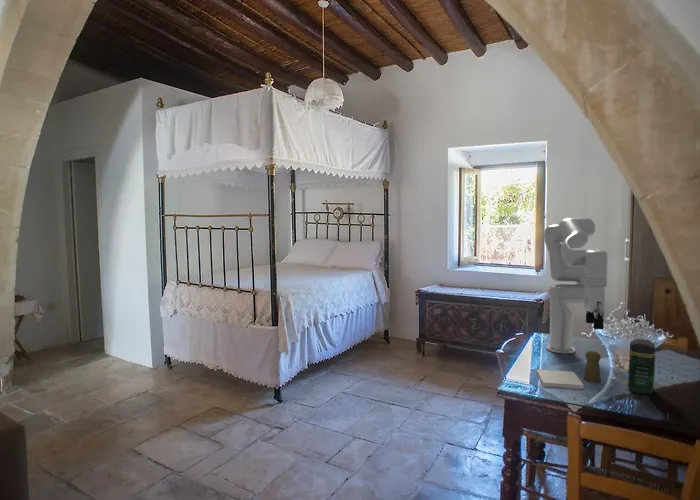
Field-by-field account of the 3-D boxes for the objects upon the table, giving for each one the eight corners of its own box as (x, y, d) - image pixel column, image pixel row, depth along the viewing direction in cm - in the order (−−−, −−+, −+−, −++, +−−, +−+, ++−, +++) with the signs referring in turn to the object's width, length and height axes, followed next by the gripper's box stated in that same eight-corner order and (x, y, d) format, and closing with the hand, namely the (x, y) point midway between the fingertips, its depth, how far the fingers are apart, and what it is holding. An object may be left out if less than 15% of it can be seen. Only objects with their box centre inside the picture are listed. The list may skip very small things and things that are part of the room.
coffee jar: (653, 397, 156) (656, 345, 155) (627, 392, 161) (629, 342, 159) (653, 388, 164) (655, 339, 163) (628, 383, 169) (630, 336, 167)
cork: (603, 382, 170) (604, 354, 169) (586, 381, 171) (587, 354, 170) (597, 377, 176) (598, 350, 175) (581, 376, 177) (582, 349, 176)
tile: (536, 373, 181) (536, 369, 181) (573, 375, 178) (573, 371, 178) (543, 386, 167) (543, 382, 167) (583, 389, 164) (583, 385, 164)
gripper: (578, 279, 180) (577, 320, 181) (591, 285, 163) (590, 331, 164) (598, 279, 178) (597, 321, 179) (614, 285, 161) (612, 332, 162)
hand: (594, 325), depth 172 cm, fingers open, 9 cm apart
